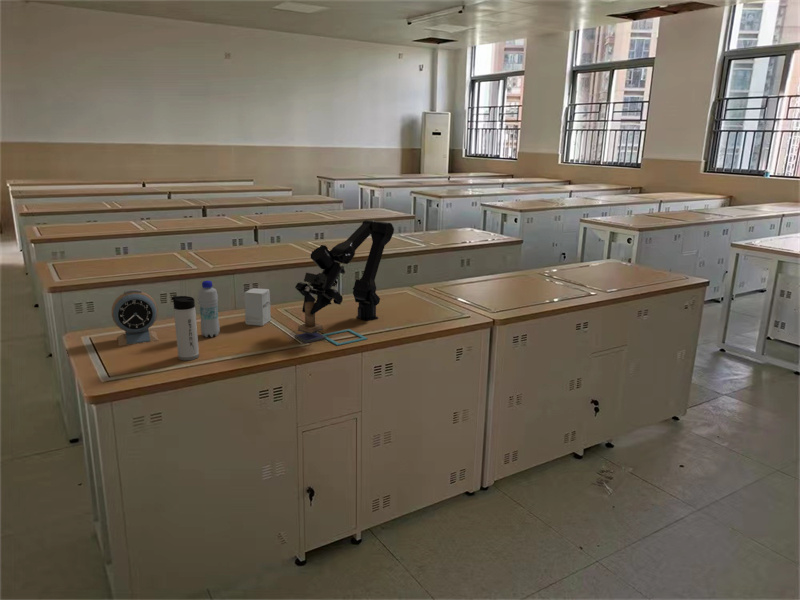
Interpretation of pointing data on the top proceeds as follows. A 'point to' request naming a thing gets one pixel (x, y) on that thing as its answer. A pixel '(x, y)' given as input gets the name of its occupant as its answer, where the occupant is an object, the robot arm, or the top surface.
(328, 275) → the robot arm
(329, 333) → the frame
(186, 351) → the travel mug
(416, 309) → the top surface
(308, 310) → the stamp
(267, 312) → the supplement box
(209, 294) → the bottle
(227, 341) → the top surface
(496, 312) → the top surface
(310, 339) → the ink pad
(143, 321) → the alarm clock
